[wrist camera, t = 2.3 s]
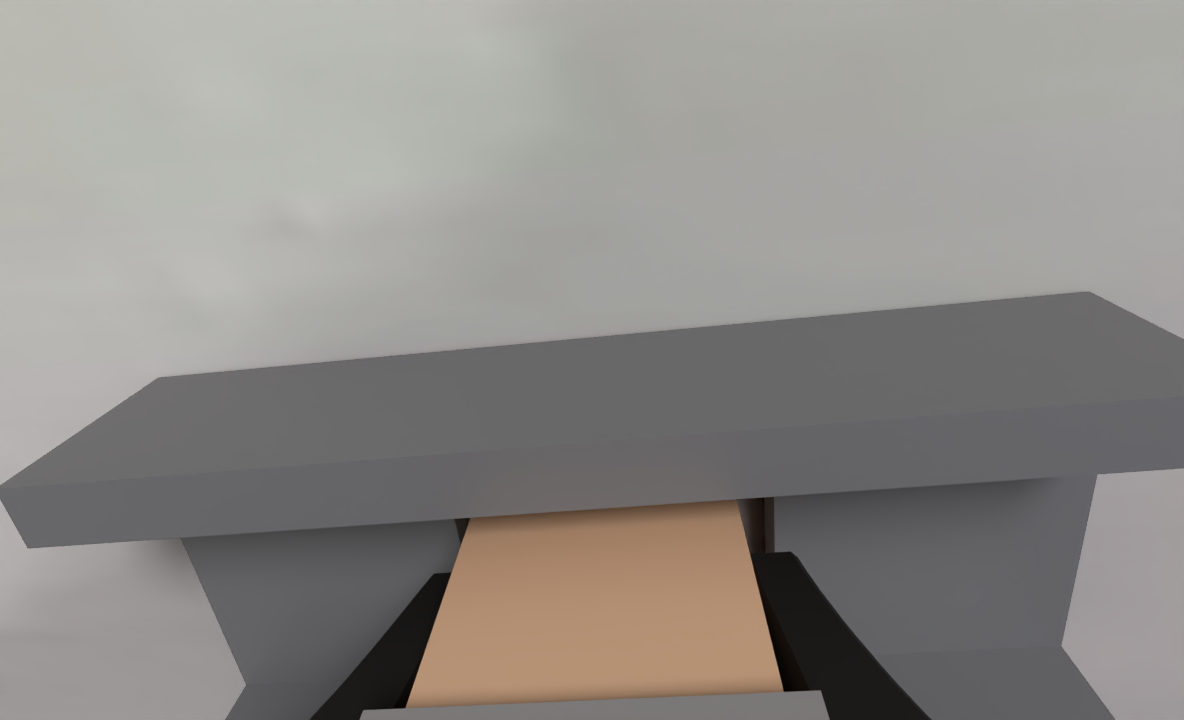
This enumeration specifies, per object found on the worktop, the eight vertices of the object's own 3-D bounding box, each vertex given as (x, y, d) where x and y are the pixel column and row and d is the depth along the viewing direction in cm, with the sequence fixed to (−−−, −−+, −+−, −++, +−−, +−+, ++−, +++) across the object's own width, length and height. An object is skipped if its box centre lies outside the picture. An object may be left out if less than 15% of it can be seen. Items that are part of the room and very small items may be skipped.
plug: (732, 402, 12) (851, 791, 6) (740, 601, 14) (837, 1066, 7) (479, 423, 12) (323, 807, 6) (519, 614, 14) (432, 1063, 8)
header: (1089, 291, 11) (1280, 388, 8) (1024, 643, 14) (1143, 818, 11) (158, 377, 12) (-6, 488, 9) (283, 679, 15) (192, 842, 12)
